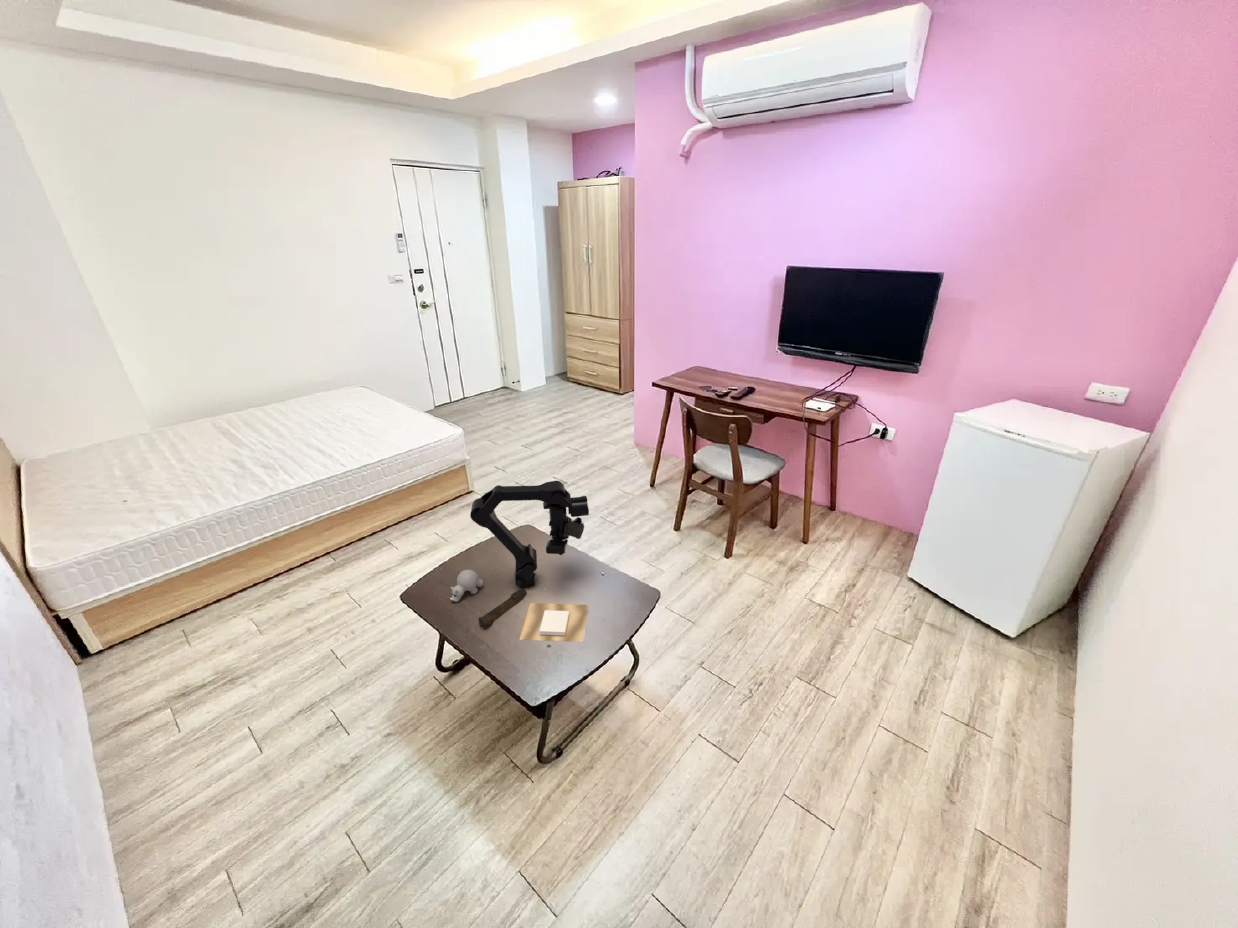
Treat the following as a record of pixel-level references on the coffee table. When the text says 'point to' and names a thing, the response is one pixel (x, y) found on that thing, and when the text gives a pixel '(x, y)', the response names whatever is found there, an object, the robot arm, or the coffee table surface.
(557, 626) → the tile
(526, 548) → the robot arm
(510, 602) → the hand tool
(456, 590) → the chubby cartoon animal
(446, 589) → the coffee table surface
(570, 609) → the board
